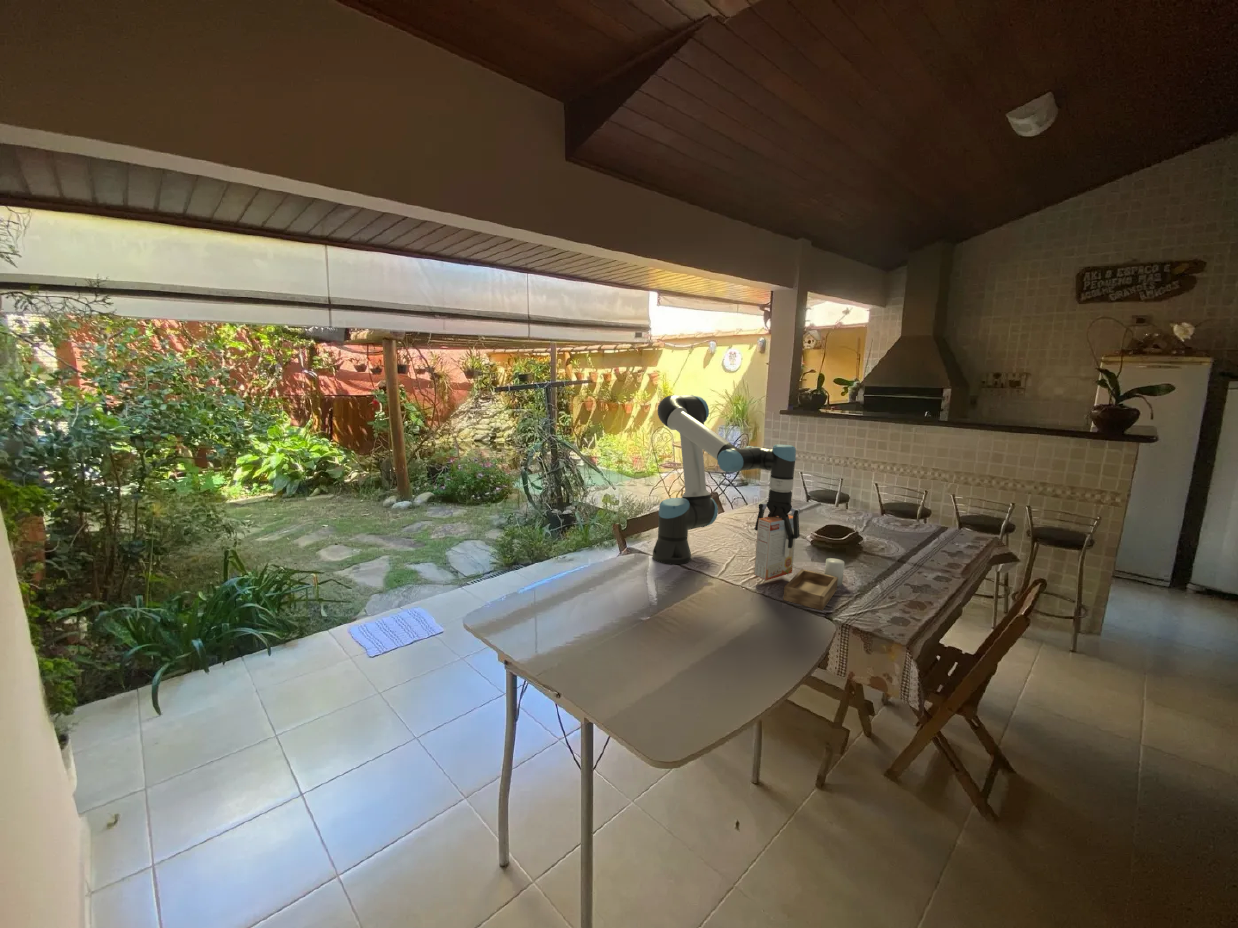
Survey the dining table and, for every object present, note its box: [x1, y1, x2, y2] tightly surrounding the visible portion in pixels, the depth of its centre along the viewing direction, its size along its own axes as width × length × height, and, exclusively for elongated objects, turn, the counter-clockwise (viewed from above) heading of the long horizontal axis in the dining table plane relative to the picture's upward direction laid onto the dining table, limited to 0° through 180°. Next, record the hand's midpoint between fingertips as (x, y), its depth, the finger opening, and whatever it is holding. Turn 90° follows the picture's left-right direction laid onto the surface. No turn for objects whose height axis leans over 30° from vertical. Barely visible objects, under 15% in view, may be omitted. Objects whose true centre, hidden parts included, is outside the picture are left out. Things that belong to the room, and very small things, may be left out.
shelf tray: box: [782, 568, 838, 611], centre depth 161 cm, size 12×20×4 cm, turn 144°
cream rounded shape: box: [824, 557, 845, 587], centre depth 171 cm, size 6×6×8 cm
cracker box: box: [753, 514, 796, 581], centre depth 169 cm, size 14×6×21 cm, turn 123°
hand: (774, 553), depth 170 cm, fingers closed on cracker box, 7 cm apart
